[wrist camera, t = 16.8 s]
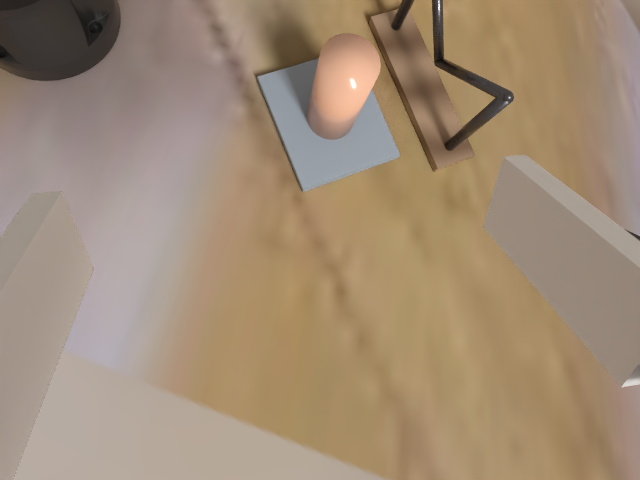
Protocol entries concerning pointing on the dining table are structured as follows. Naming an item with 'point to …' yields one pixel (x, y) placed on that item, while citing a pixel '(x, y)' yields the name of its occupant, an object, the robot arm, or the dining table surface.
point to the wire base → (420, 89)
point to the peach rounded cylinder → (341, 84)
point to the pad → (312, 150)
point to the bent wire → (458, 74)
